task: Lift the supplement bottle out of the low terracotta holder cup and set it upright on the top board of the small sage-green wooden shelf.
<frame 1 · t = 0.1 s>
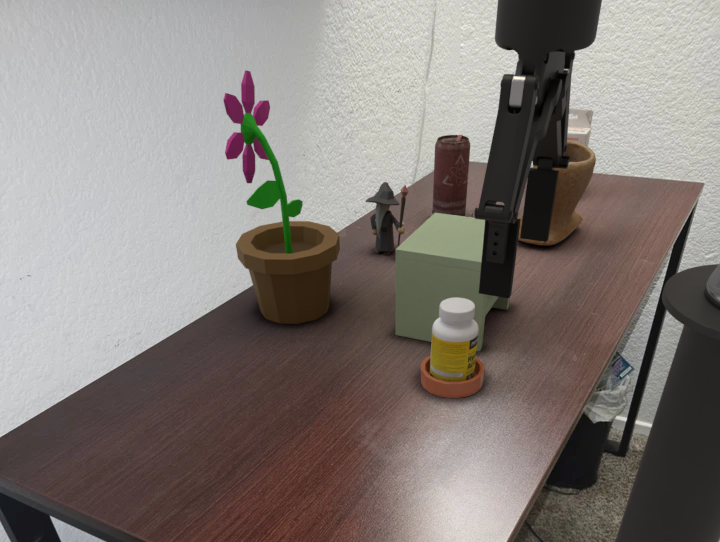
hand: (515, 264, 62), 19 cm above the table, tool pointing down, fingers open, 13 cm apart
holder: (451, 380, 81), on the table
supplement bottle: (451, 380, 81), resting on holder
flowerpot: (295, 309, 98), on the table
shelf: (453, 320, 93), on the table
ink cartridge box: (556, 193, 132), on the table
stone cup: (549, 236, 115), on the table
wizard figurine: (390, 254, 112), on the table
can: (448, 221, 123), on the table
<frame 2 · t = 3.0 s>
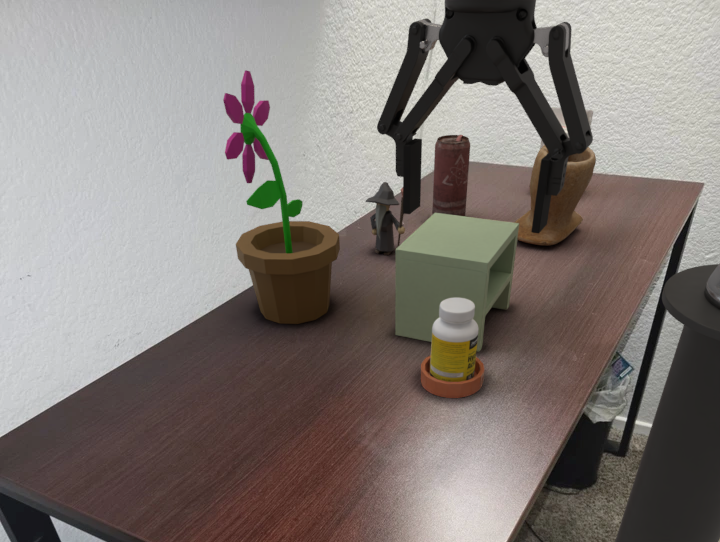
hand: (472, 219, 66), 20 cm above the table, tool pointing down, fingers open, 13 cm apart
nothing on the table moved.
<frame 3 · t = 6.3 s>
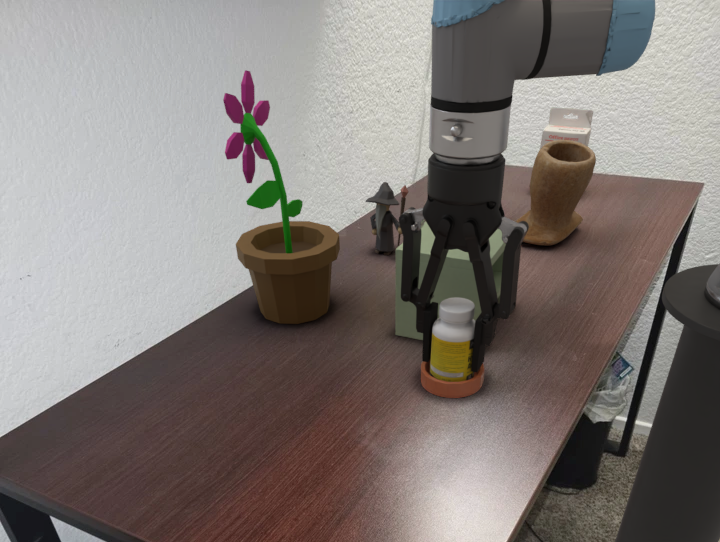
hand: (452, 361, 79), 3 cm above the table, tool pointing down, fingers closed on supplement bottle, 5 cm apart
supplement bottle: (451, 380, 81), resting on holder, touching gripper
everything else where it was.
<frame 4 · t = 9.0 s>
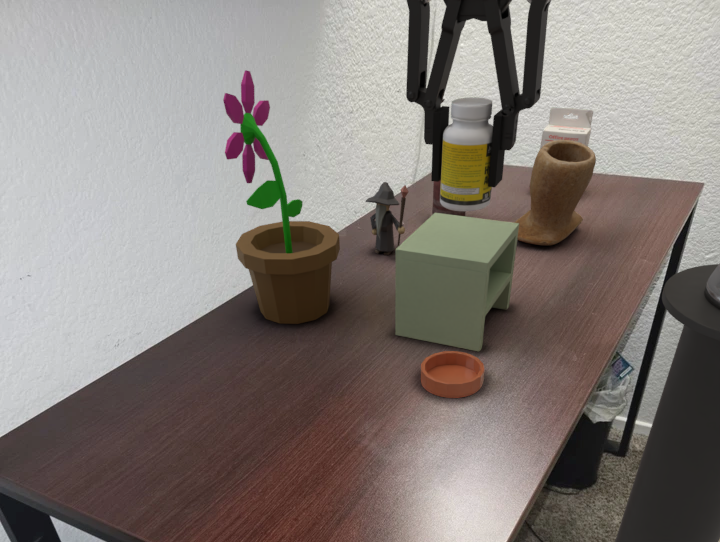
hand: (466, 179, 69), 22 cm above the table, tool pointing down, fingers closed on supplement bottle, 5 cm apart
supplement bottle: (464, 206, 71), point 20 cm above the table, touching gripper
everything else where it was.
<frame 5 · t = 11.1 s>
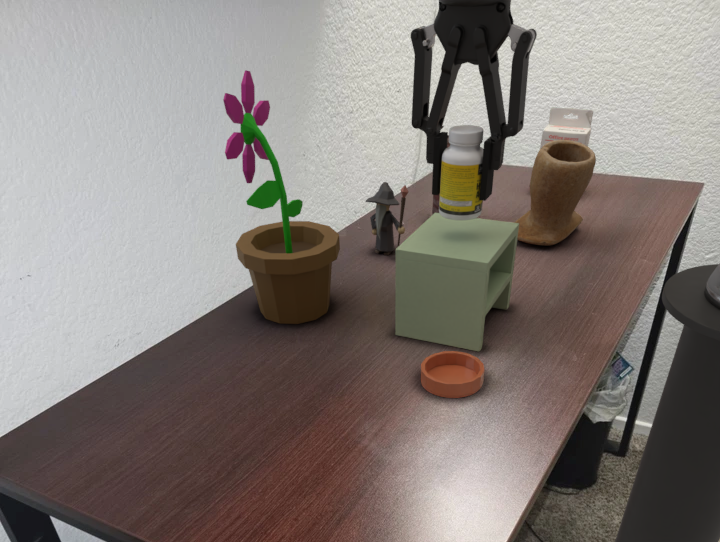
hand: (461, 193, 82), 17 cm above the table, tool pointing down, fingers closed on supplement bottle, 5 cm apart
supplement bottle: (460, 215, 83), point 15 cm above the table, touching gripper
everything else where it was.
when the fingers open (14 cm above the table, at t = 12.2 s): supplement bottle stays where it is, resting on shelf.
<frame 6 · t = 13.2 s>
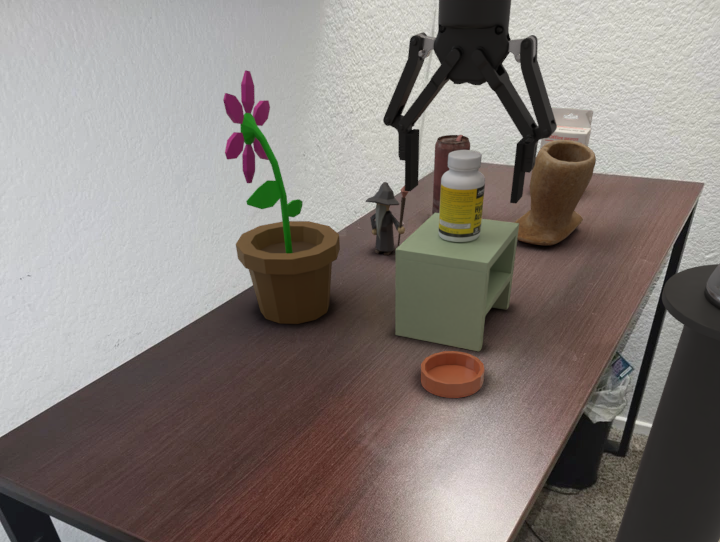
hand: (462, 194, 82), 17 cm above the table, tool pointing down, fingers open, 13 cm apart
supplement bottle: (459, 237, 85), point 12 cm above the table, touching shelf
everything else where it was.
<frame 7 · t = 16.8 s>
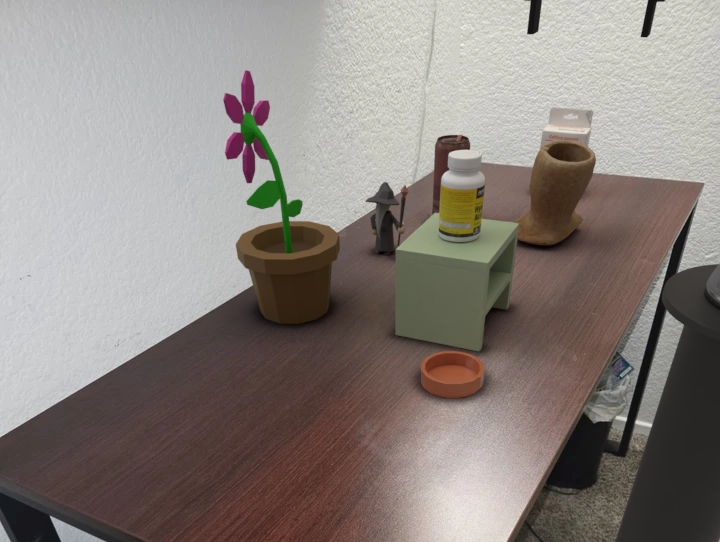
hand: (587, 34, 81), 32 cm above the table, tool pointing down, fingers open, 13 cm apart
nothing on the table moved.
at the end: supplement bottle inside the target area on the shelf (0.0 cm from its centre), point 11.8 cm above the shelf's base; supplement bottle tilted 0°; the gripper is holding nothing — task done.
